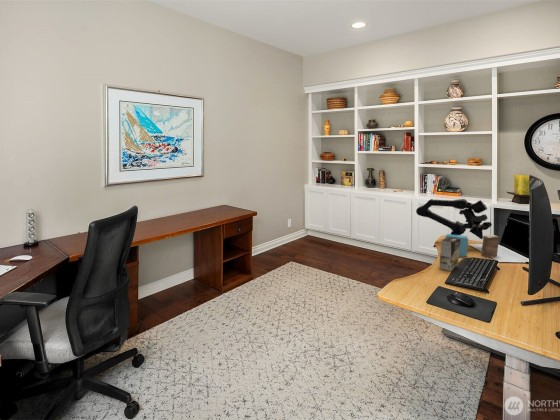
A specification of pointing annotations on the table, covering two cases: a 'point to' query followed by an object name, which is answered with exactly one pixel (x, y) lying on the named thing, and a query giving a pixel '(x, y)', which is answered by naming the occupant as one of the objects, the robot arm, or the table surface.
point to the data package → (461, 244)
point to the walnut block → (490, 246)
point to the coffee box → (449, 253)
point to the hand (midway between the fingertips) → (481, 238)
